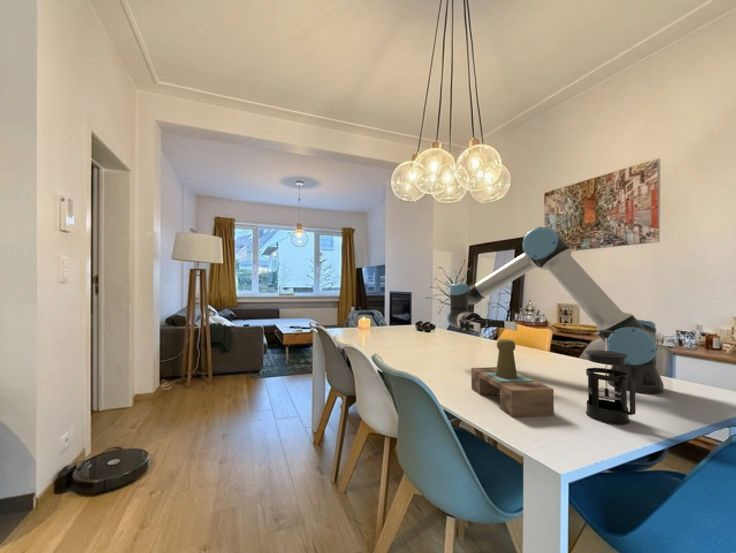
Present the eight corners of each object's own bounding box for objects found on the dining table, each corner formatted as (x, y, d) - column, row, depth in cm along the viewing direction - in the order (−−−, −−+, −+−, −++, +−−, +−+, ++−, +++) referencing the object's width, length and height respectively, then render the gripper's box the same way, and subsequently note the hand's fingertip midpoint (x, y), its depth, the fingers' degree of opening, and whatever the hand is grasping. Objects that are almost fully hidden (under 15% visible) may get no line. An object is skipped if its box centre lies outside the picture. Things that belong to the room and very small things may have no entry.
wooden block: (471, 388, 110) (471, 367, 110) (504, 387, 111) (504, 366, 111) (512, 417, 86) (511, 389, 86) (553, 415, 87) (553, 387, 88)
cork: (520, 378, 96) (520, 341, 96) (500, 378, 96) (499, 341, 96) (512, 373, 102) (511, 338, 102) (492, 373, 102) (492, 338, 102)
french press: (575, 412, 90) (574, 328, 90) (599, 408, 93) (597, 327, 94) (620, 430, 79) (619, 334, 79) (646, 424, 82) (644, 332, 82)
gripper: (498, 329, 134) (531, 337, 114) (440, 331, 131) (463, 339, 110) (497, 311, 135) (530, 315, 114) (440, 312, 131) (463, 317, 110)
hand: (497, 327), depth 112 cm, fingers open, 13 cm apart
